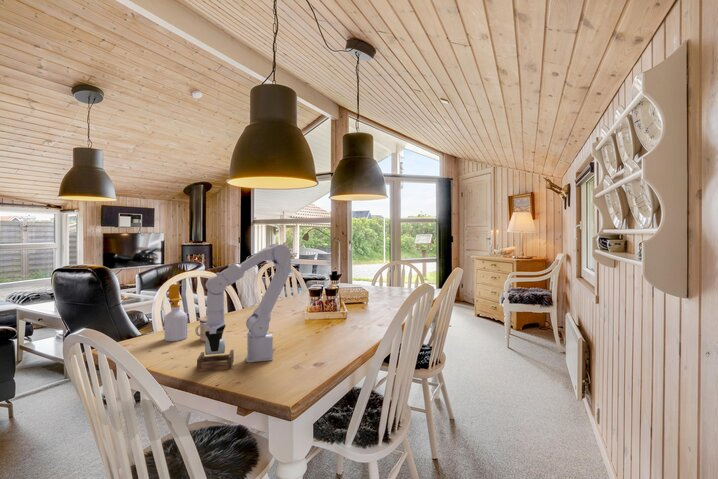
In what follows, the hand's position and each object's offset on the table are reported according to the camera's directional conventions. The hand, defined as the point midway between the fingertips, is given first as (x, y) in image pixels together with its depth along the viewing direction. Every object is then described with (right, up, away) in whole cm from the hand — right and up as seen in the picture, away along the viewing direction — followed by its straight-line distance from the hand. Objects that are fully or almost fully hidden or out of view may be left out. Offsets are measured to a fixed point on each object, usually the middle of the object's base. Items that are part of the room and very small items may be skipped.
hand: (215, 348), depth 122 cm
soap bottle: (-31, -6, +32) cm, 45 cm away
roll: (0, -2, 0) cm, 2 cm away
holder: (0, -6, 0) cm, 6 cm away
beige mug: (-16, -6, +31) cm, 35 cm away
